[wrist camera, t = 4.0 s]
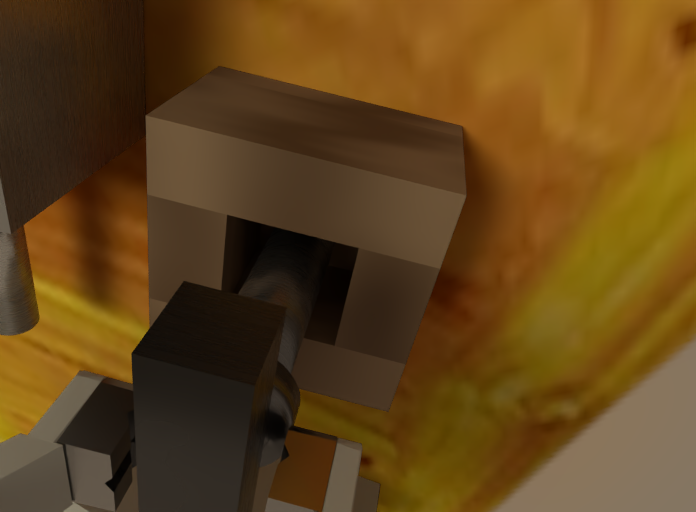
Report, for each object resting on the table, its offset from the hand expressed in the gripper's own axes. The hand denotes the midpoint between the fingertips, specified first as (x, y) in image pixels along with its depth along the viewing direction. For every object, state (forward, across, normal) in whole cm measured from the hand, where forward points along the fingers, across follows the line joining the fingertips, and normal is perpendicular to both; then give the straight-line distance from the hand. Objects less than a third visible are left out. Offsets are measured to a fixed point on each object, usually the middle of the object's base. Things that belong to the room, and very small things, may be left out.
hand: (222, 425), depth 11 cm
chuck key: (+9, 0, 0) cm, 9 cm away
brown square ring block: (+10, 0, 0) cm, 10 cm away
